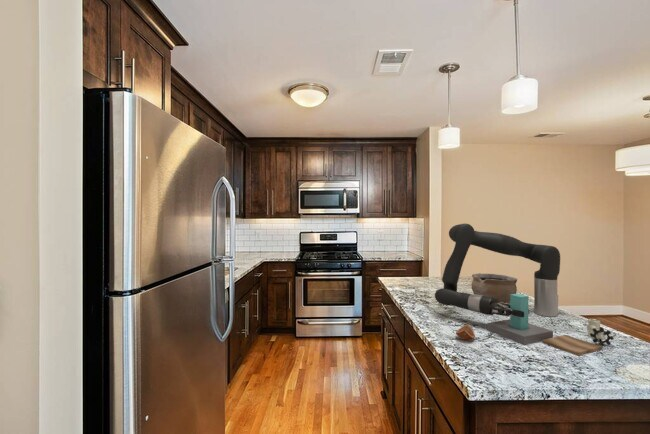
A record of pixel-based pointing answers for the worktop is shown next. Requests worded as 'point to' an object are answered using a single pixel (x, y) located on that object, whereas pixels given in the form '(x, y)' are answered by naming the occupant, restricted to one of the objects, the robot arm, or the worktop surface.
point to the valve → (598, 332)
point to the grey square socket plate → (519, 332)
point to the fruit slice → (466, 333)
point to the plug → (519, 304)
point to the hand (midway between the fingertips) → (526, 313)
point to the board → (572, 345)
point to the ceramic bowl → (494, 286)
